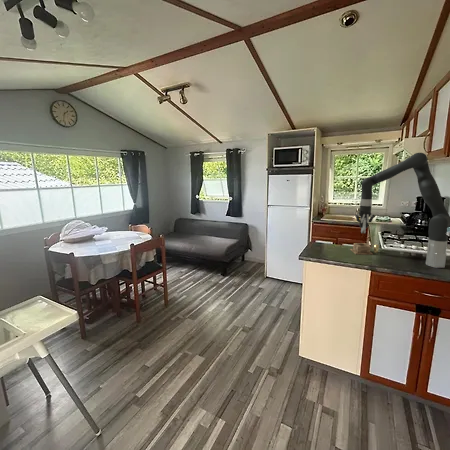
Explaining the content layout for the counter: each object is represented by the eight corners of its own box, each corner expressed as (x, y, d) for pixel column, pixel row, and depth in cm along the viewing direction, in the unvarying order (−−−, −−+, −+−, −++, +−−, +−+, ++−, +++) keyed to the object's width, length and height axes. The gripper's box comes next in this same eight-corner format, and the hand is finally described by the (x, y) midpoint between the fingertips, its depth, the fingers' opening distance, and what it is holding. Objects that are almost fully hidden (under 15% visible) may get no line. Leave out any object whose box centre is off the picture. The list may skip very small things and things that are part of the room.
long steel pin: (366, 233, 190) (367, 217, 187) (361, 233, 190) (363, 217, 188) (364, 232, 193) (365, 217, 190) (360, 232, 193) (361, 217, 191)
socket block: (372, 254, 189) (373, 246, 188) (356, 254, 190) (356, 246, 189) (366, 250, 200) (366, 242, 199) (350, 249, 202) (350, 242, 201)
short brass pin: (378, 253, 192) (379, 245, 191) (374, 252, 193) (375, 245, 192) (377, 251, 195) (377, 244, 194) (372, 251, 196) (373, 244, 195)
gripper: (357, 205, 184) (355, 228, 188) (378, 205, 183) (375, 228, 186) (353, 204, 192) (352, 226, 195) (373, 204, 190) (371, 226, 193)
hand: (363, 227), depth 191 cm, fingers closed on long steel pin, 3 cm apart
